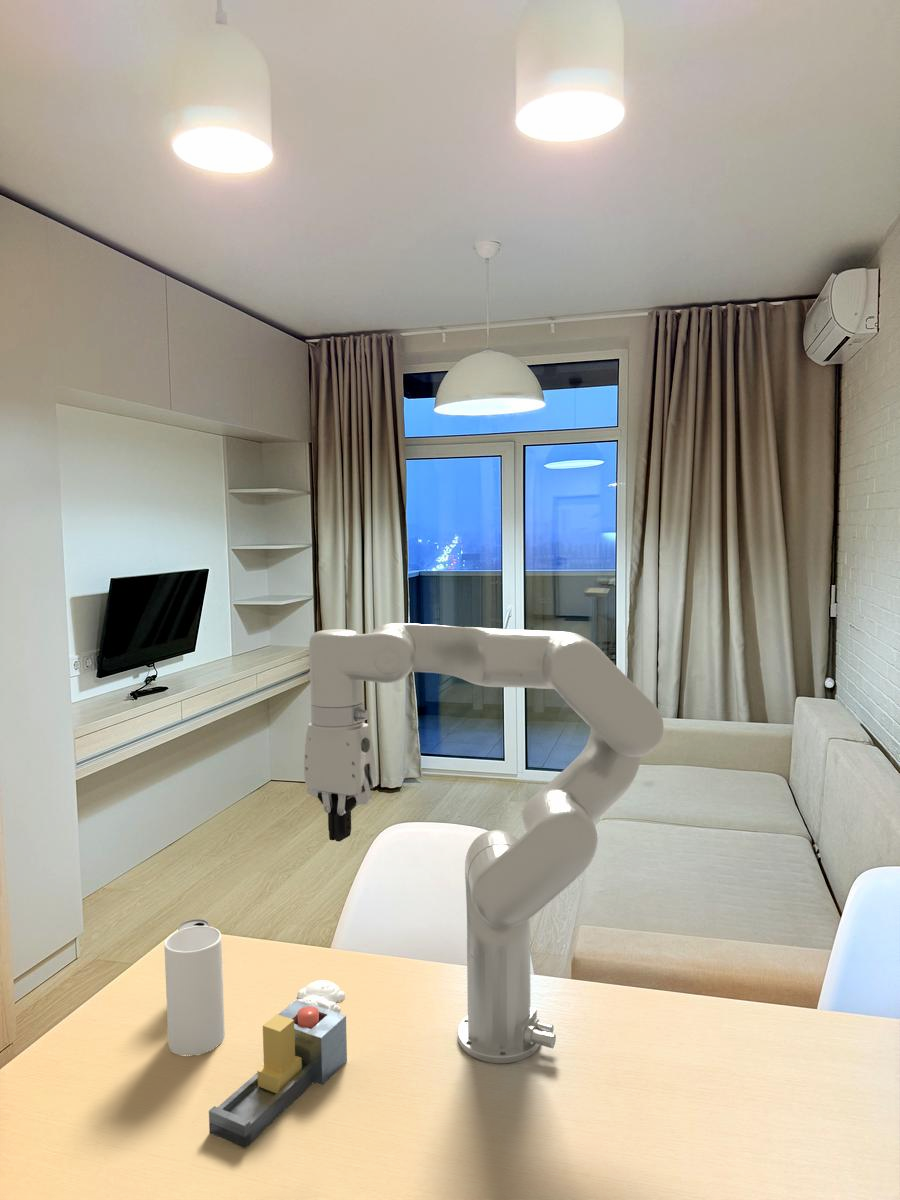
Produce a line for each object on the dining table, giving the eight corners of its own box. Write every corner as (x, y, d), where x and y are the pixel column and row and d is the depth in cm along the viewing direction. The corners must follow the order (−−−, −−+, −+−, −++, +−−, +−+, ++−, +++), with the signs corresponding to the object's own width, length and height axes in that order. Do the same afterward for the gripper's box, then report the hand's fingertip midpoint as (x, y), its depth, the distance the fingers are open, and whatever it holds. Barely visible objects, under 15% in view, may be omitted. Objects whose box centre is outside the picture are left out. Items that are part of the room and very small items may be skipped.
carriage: (301, 1072, 116) (300, 1016, 116) (278, 1094, 112) (277, 1036, 111) (281, 1065, 118) (279, 1010, 117) (257, 1086, 114) (256, 1029, 113)
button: (323, 1041, 121) (322, 1009, 121) (310, 1052, 119) (310, 1020, 118) (306, 1035, 123) (306, 1004, 122) (294, 1046, 120) (293, 1014, 120)
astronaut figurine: (276, 1027, 130) (276, 1009, 130) (305, 986, 142) (305, 969, 142) (329, 1034, 129) (328, 1015, 128) (354, 992, 140) (354, 974, 140)
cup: (208, 1059, 122) (204, 954, 121) (157, 1052, 124) (153, 949, 123) (234, 1026, 130) (230, 928, 129) (185, 1020, 132) (182, 923, 131)
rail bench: (347, 1061, 121) (346, 1015, 121) (254, 1152, 104) (253, 1099, 103) (297, 1044, 126) (296, 999, 125) (200, 1129, 108) (198, 1077, 107)
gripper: (394, 714, 121) (396, 837, 122) (311, 705, 128) (314, 822, 129) (366, 725, 114) (368, 855, 116) (279, 715, 121) (283, 838, 123)
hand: (340, 837), depth 123 cm, fingers closed
